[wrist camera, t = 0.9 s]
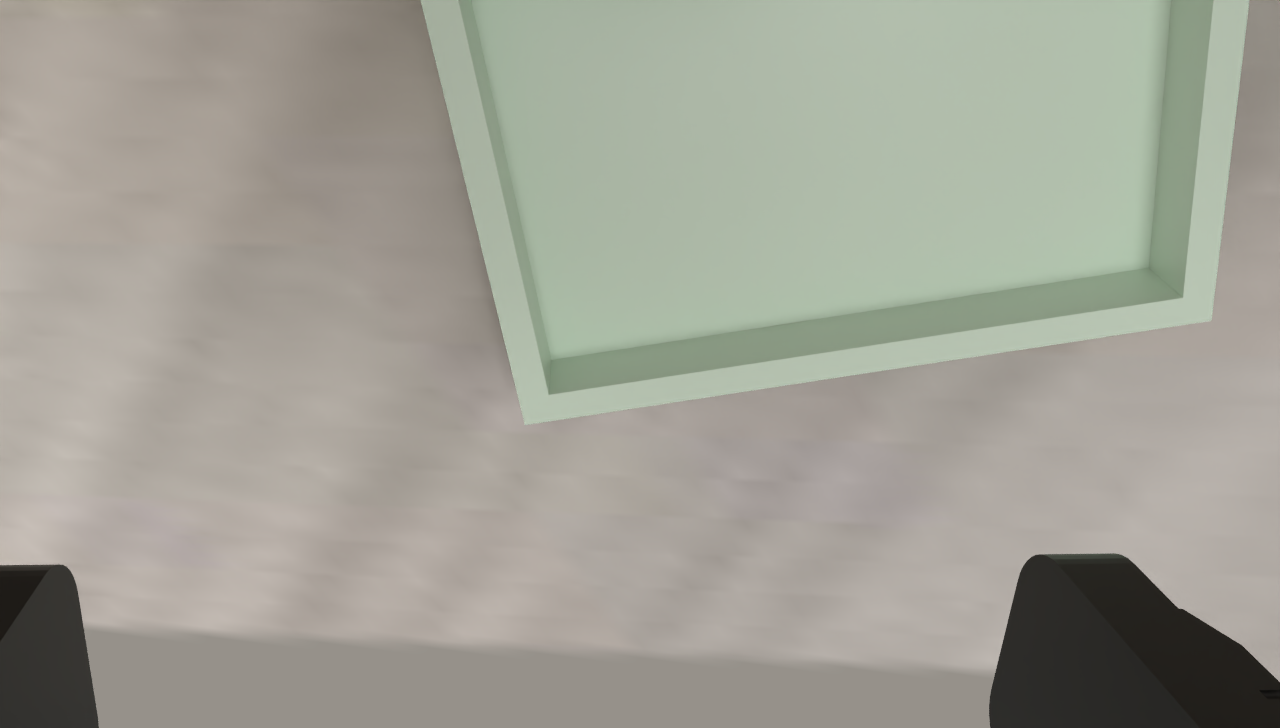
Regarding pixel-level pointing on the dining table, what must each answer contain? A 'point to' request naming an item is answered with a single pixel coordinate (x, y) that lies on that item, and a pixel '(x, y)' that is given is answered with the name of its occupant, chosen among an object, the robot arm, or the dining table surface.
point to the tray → (831, 182)
